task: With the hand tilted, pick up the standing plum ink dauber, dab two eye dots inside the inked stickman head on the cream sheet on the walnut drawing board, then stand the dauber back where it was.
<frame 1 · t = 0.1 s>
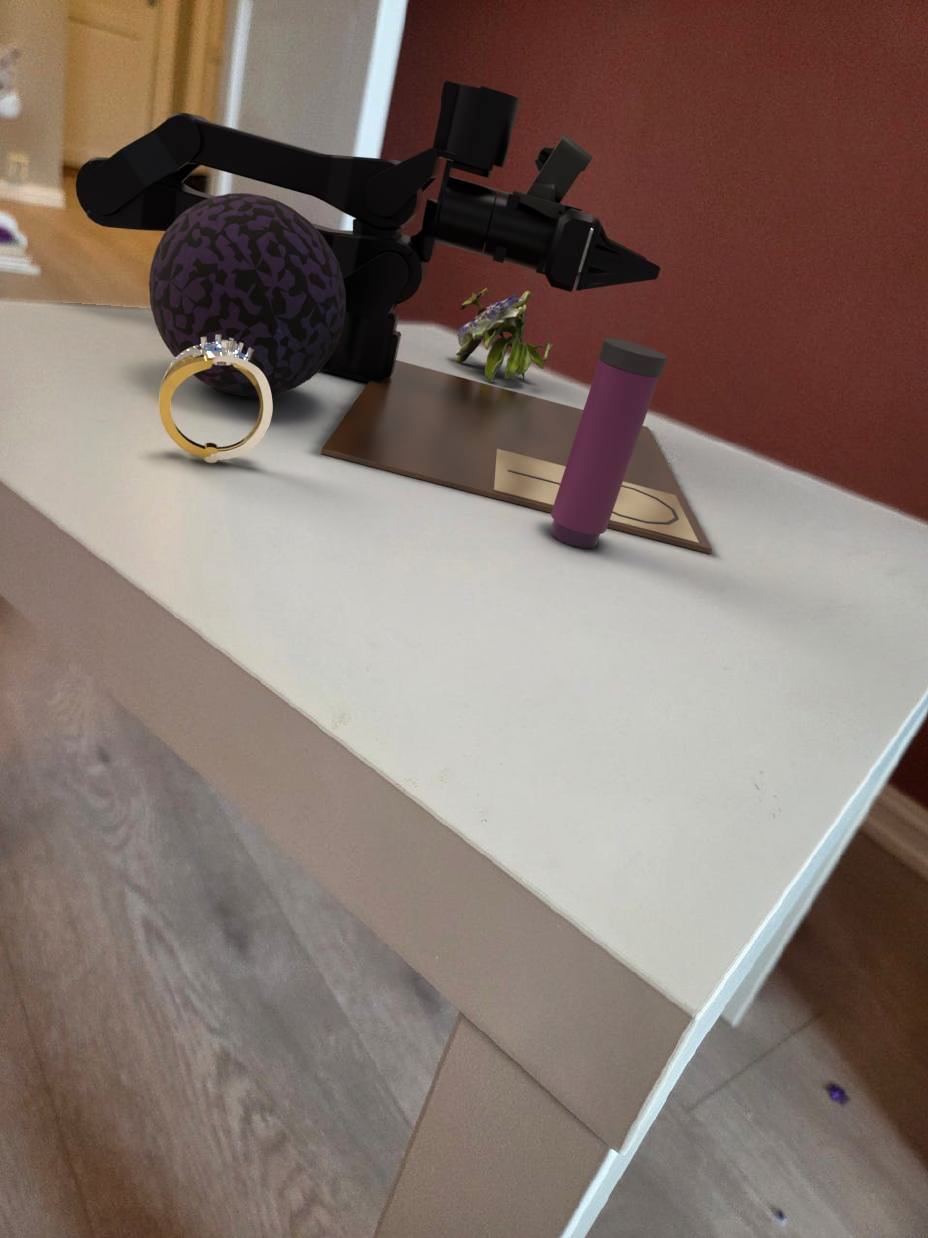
hand: (651, 268, 83), 17 cm above the table, tool horizontal, fingers open, 9 cm apart
toy ball: (237, 394, 73), on the table
ring: (209, 463, 58), on the table
passion flower: (492, 374, 106), on the table
dauber: (573, 537, 62), on the table
drawing board: (517, 439, 82), on the table
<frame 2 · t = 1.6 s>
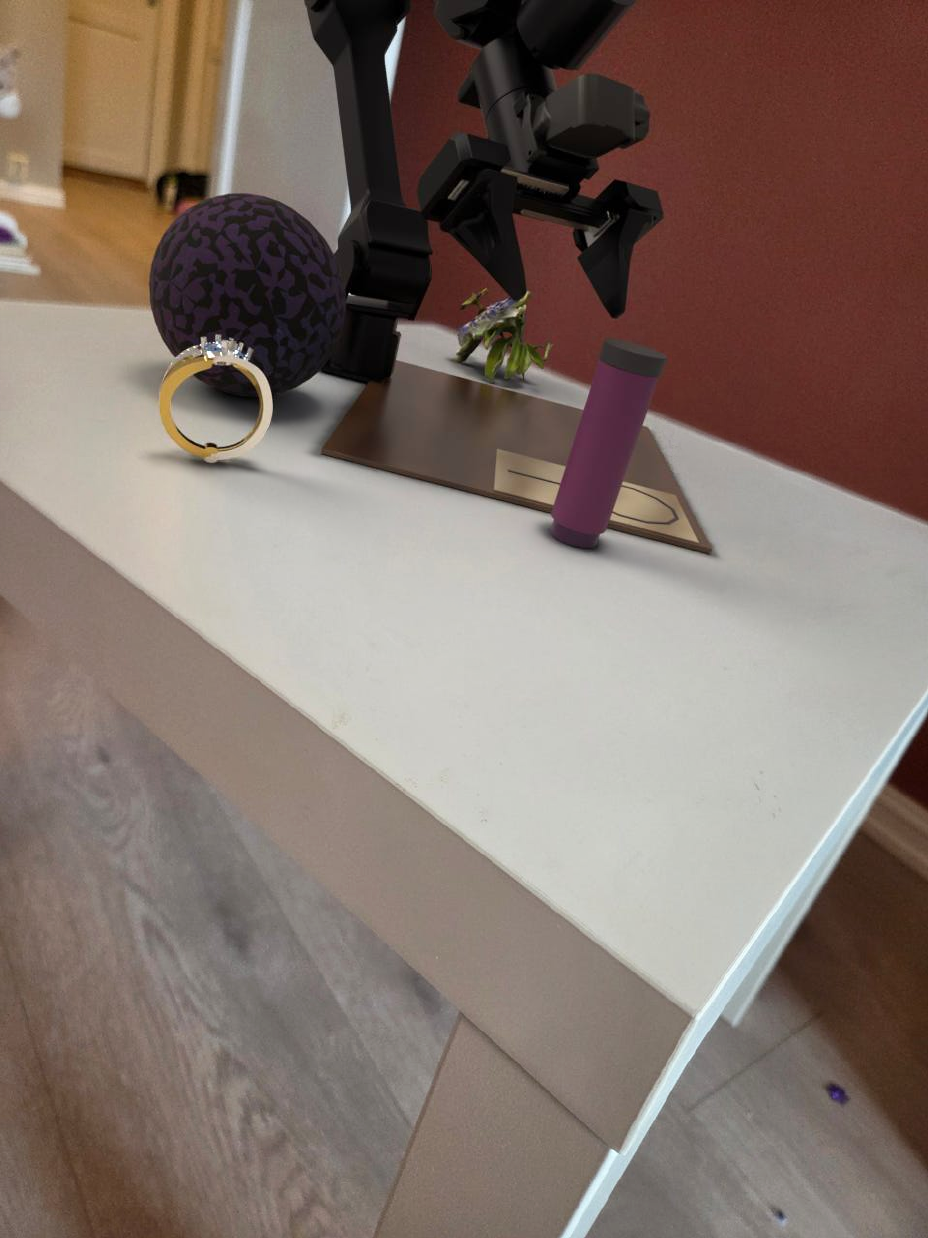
hand: (571, 306, 62), 14 cm above the table, tool tilted 45°, fingers open, 9 cm apart
nothing on the table moved.
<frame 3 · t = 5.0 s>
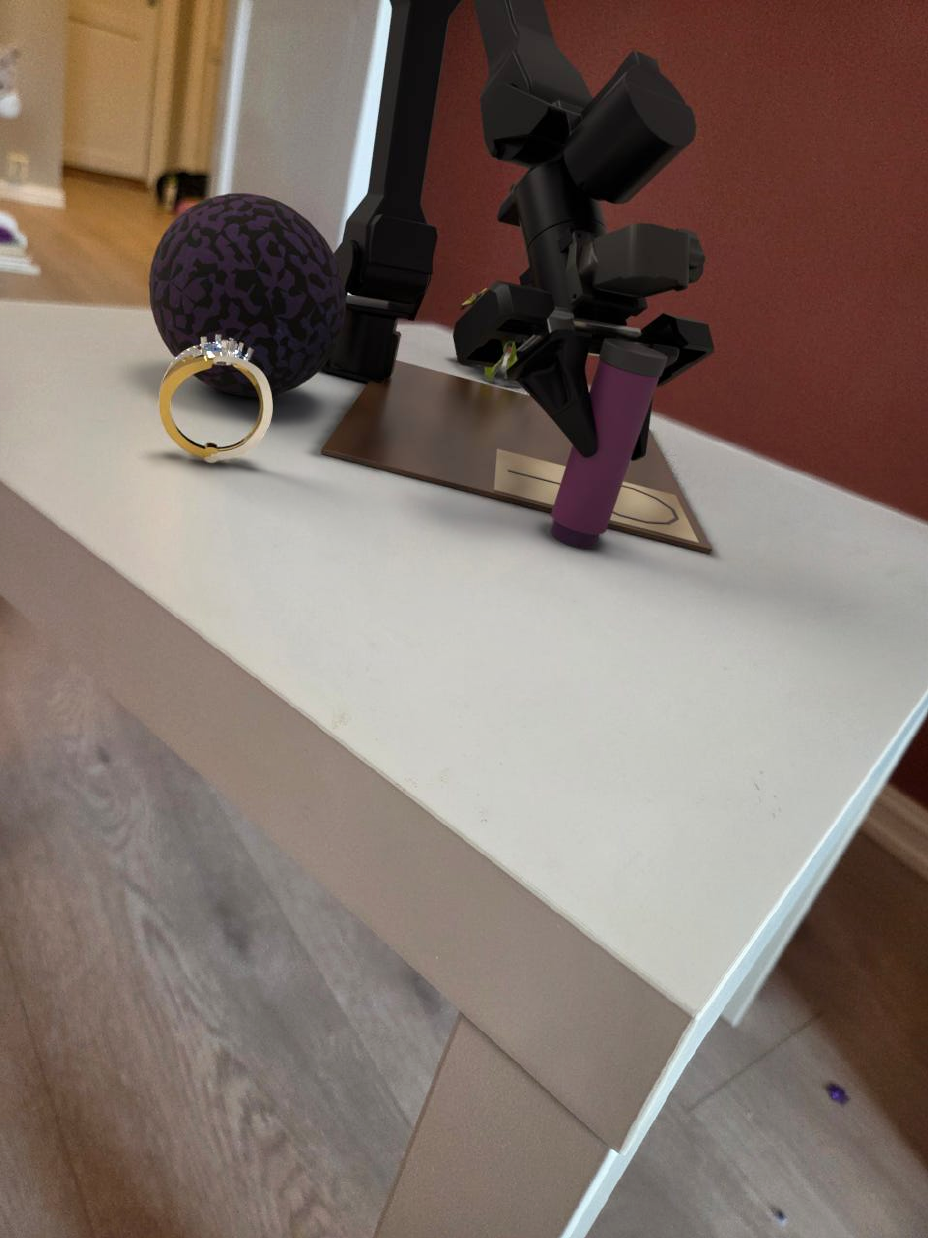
hand: (615, 457, 58), 7 cm above the table, tool tilted 45°, fingers closed on dauber, 4 cm apart
dauber: (573, 537, 62), on the table, touching gripper
everything else where it was.
when the fingers open (7 cm above the table, at t = 16.1 s): dauber stays where it is, on the table.
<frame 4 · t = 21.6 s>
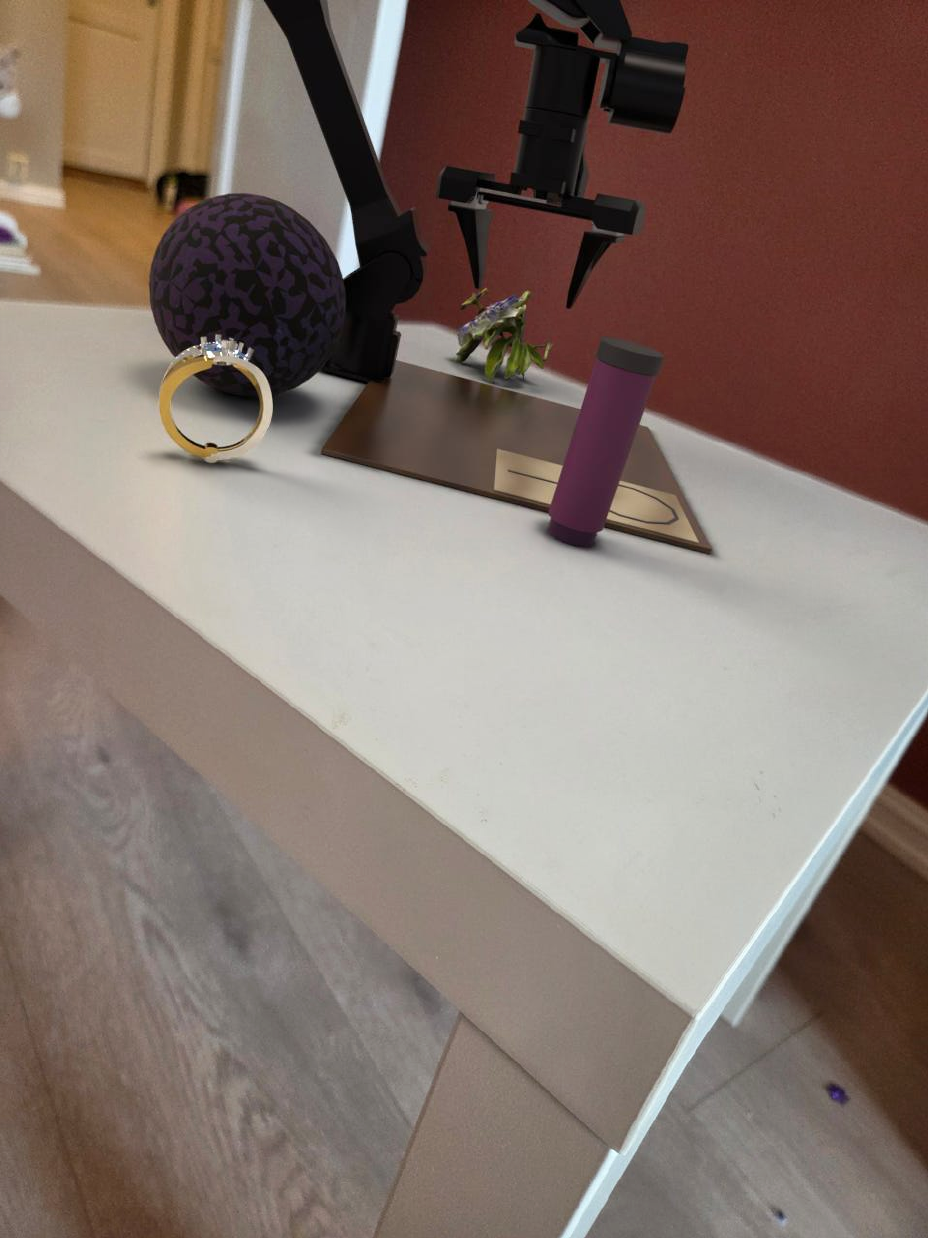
hand: (523, 298, 85), 11 cm above the table, tool pointing down, fingers open, 9 cm apart
dauber: (570, 535, 62), on the table
everything else where it was.
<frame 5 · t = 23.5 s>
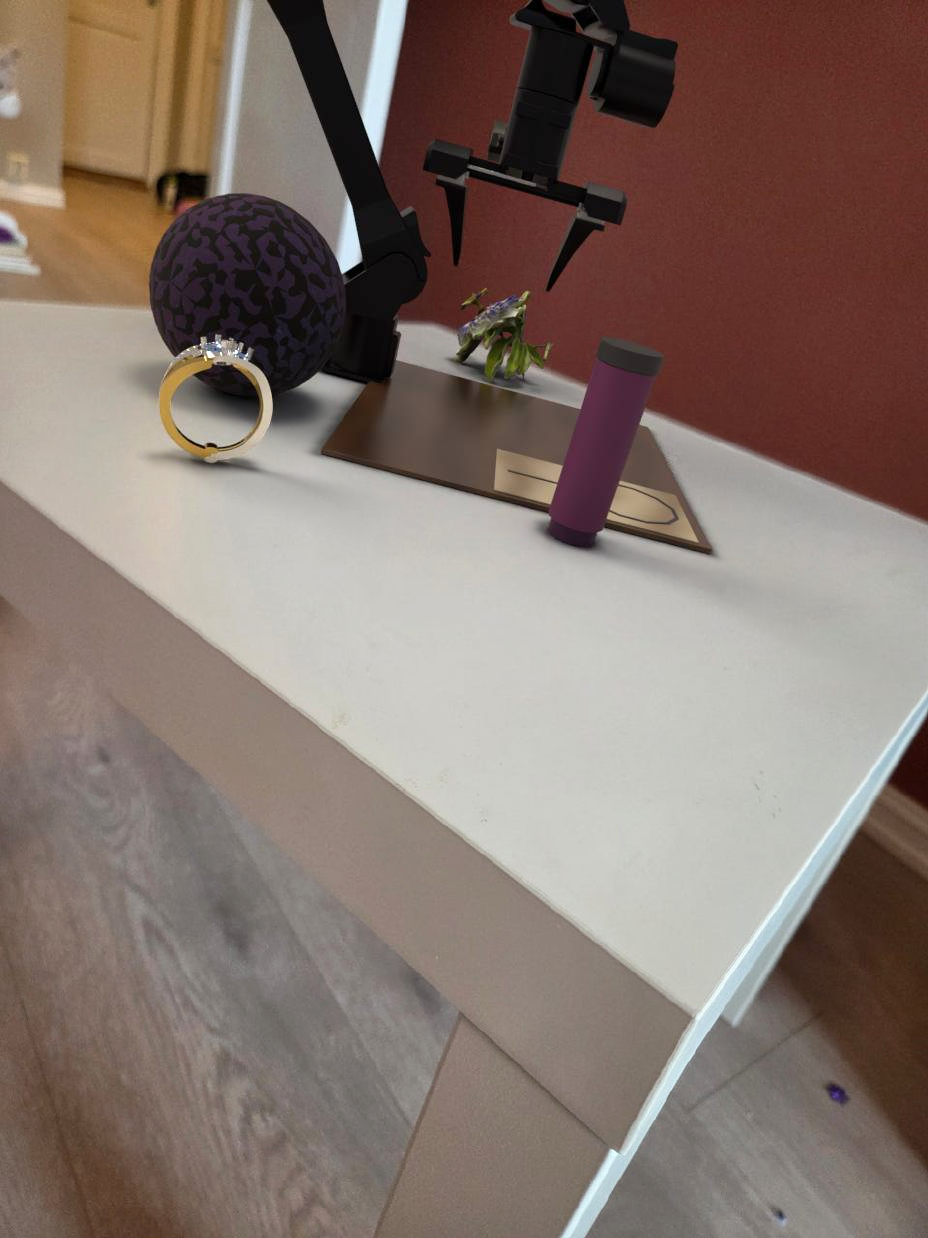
hand: (501, 278, 86), 12 cm above the table, tool pointing down, fingers open, 9 cm apart
nothing on the table moved.
at the end: dauber 0.3 cm from the target spot on the table beside the drawing board, on the table; dauber tilted 0°; the gripper is holding nothing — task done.
